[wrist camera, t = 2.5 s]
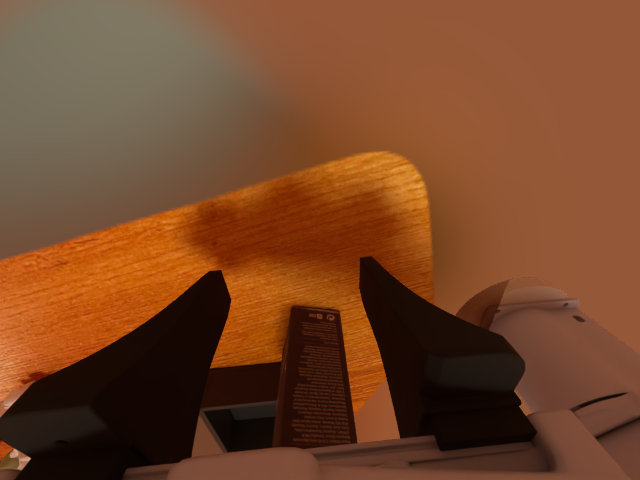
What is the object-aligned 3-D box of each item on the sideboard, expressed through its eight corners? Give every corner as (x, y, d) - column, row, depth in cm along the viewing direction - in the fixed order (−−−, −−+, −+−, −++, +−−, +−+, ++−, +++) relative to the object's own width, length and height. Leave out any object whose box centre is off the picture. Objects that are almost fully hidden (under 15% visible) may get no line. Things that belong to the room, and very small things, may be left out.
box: (287, 304, 20) (270, 529, 9) (340, 310, 20) (379, 526, 10) (278, 351, 23) (256, 564, 12) (324, 355, 23) (342, 559, 13)
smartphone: (194, 406, 26) (268, 462, 33) (196, 401, 26) (268, 457, 33) (135, 425, 27) (220, 474, 34) (139, 419, 27) (221, 469, 35)
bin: (312, 359, 24) (313, 396, 20) (318, 409, 28) (320, 446, 25) (209, 369, 23) (195, 409, 20) (233, 418, 28) (224, 456, 25)
